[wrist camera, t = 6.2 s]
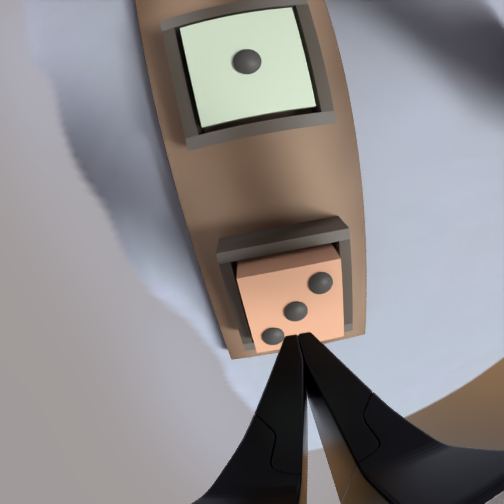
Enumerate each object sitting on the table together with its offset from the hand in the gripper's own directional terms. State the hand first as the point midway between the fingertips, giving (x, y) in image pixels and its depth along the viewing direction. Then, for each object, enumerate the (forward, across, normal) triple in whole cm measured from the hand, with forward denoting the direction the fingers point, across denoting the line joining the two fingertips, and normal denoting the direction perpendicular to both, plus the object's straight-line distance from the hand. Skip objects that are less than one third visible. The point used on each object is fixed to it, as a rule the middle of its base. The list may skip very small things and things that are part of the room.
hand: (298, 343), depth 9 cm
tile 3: (+7, 0, +2) cm, 7 cm away
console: (+9, 0, -10) cm, 13 cm away
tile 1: (+8, 0, -9) cm, 12 cm away
